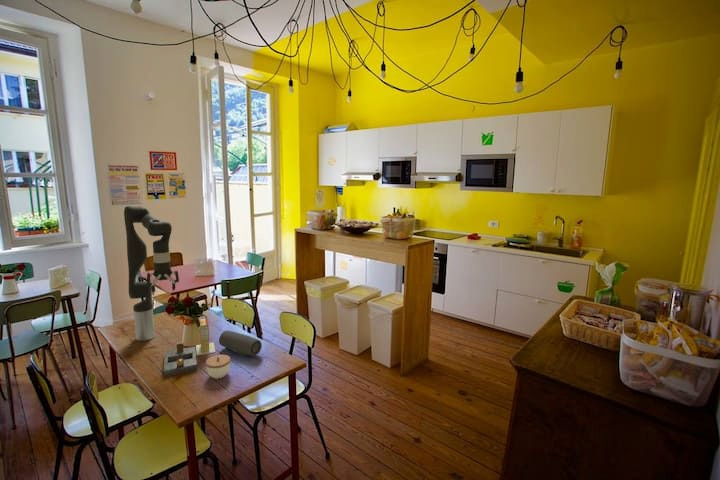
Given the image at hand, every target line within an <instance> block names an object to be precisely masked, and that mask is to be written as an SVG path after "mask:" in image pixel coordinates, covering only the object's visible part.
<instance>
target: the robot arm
mask: <svg viewBox="0 0 720 480" xmlns="http://www.w3.org/2000/svg"><path fill="white" fill-rule="evenodd" d="M123 218H124V225H125V226H124V227H125V234H126V252H127V253H126V254H127V255H126V256H127V265H128V266H127V267H128V296H129V299H131V300H133V299H134V300H135V299H137V300H138V299H143V300H141V301H139V302H136V303H135V304H134V305H133V307H132V308H133V319H134V330H135V340H136V341H138V342H146V341H149V340H152V339H153V338H155V336H156V334H155V321H154V312H153V311H154V310H153V309H154V308H153V295H152V294H153V293H156V283H157V282H158V281H167V280H168V281H169V282H171V287H172V288H171V290H172V291H173V292H174V291H175V290H176V284H177V283H179V282H180V277H179V271H178V269H176V270H172V268H171V267H172V266H171V265H172V264H171V255H170V244H169V243H170V238H171V235H172V229H173V228H172V227H173V226H172V224H171V223H170V222H169V221H166V220H165V221H160V220H159V219H158V218H156V217H155V216H153V214H152V213H151V212H150V211H149V209H148V208H146V207H145V206H141V205H140V206H138V205H136V206H135V205H128V206H127V205H126V206H125V207H124V210H123ZM134 224H141V225H142V226H143V228H145V229H146V230H147V233H148V235H149V236H151V237H160V236H161V238H160V239H157V240H155V241H153V242H152V252H153V255H152V258H153V272H151V271H148V272H147V274H146V280H145V281H144V280H143V281H136V280H137V276H138V274H139V271H140V270H141V268H142V267H143V266H144V264H145V262H146V261H147V258H148V251H147V245H146V243H145V241H143V239H142V237H141V236H139V234H138V232H137V231H136V229H135V226H134ZM172 275H174V276H175V279H174V278H173V276H172ZM152 277H155V278H154V279H153V281H151V278H152Z"/></svg>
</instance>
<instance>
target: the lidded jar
mask: <svg viewBox="0 0 720 480" xmlns="http://www.w3.org/2000/svg"><path fill="white" fill-rule="evenodd" d="M205 368H206V372H207V374H208V375H209V376H210V377H211V378H212V379H215V380H218V379H219V378H220V379H222V377H223V378H224V377H226V375H228V373H229V371H230V369H231V357H230V356H229V355H226V354H217V355H214V356H210V357H209V358H208V359H207V360H206V361H205Z"/></svg>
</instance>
